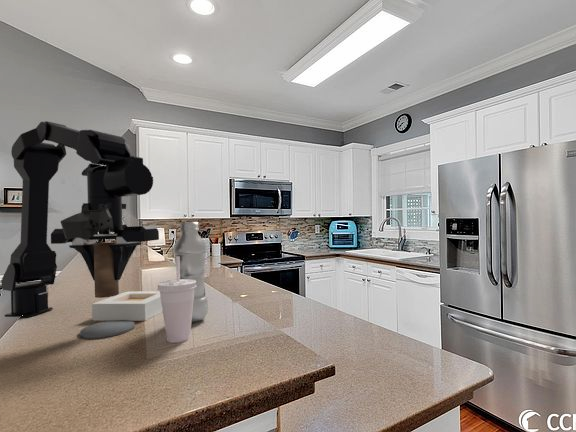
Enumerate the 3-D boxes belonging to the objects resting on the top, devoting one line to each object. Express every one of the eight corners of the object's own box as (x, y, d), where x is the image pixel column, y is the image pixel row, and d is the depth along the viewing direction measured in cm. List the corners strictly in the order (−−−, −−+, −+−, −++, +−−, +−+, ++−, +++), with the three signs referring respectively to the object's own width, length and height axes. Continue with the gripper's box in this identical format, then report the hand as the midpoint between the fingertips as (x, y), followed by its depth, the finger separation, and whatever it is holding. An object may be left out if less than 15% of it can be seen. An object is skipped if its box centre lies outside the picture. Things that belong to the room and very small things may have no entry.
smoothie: (203, 332, 59) (201, 254, 59) (189, 345, 53) (186, 258, 53) (169, 332, 60) (167, 255, 60) (151, 345, 53) (149, 259, 54)
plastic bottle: (167, 324, 64) (164, 223, 65) (189, 315, 71) (187, 222, 71) (194, 327, 62) (191, 222, 62) (215, 317, 68) (212, 221, 69)
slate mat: (68, 338, 58) (68, 335, 58) (102, 322, 67) (102, 319, 67) (114, 338, 57) (114, 335, 57) (143, 322, 66) (143, 319, 66)
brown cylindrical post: (89, 297, 61) (88, 243, 61) (104, 292, 65) (103, 242, 65) (109, 297, 60) (108, 243, 60) (123, 292, 64) (122, 241, 64)
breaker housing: (92, 320, 69) (92, 303, 69) (127, 305, 81) (126, 291, 81) (145, 320, 68) (145, 303, 68) (173, 305, 80) (172, 291, 80)
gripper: (22, 197, 56) (24, 289, 56) (124, 193, 53) (126, 288, 53) (73, 201, 67) (74, 277, 67) (159, 197, 65) (161, 277, 64)
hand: (106, 280), depth 62 cm, fingers closed on brown cylindrical post, 4 cm apart
